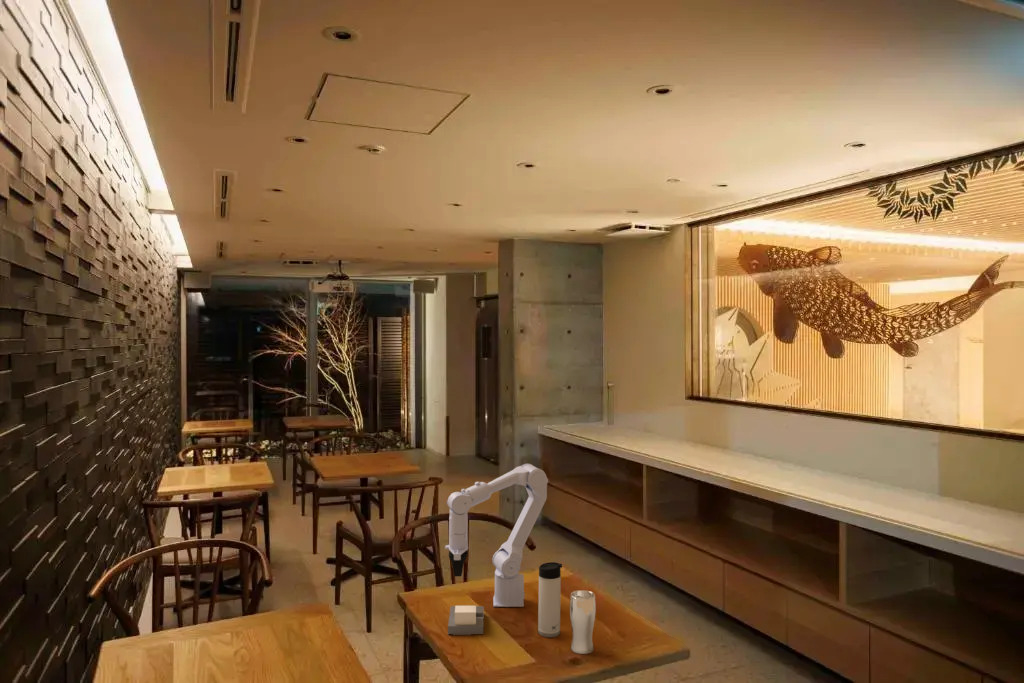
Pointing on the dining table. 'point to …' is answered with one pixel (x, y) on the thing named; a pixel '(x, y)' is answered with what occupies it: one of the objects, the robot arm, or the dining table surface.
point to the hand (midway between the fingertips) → (458, 575)
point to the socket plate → (465, 629)
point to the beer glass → (582, 620)
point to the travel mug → (549, 599)
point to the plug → (466, 615)
